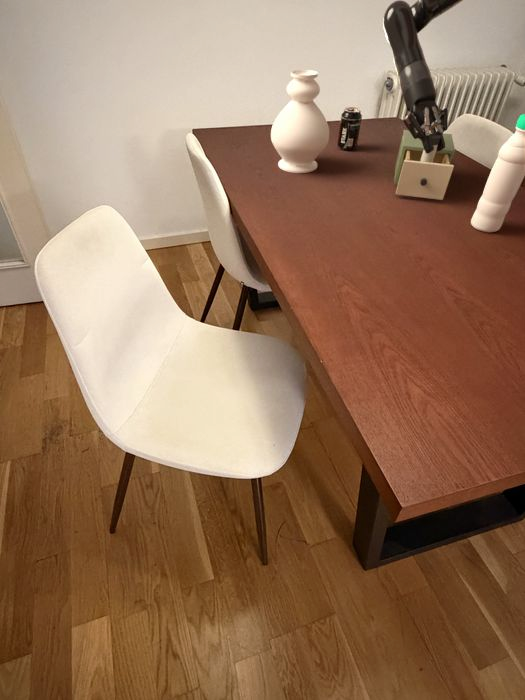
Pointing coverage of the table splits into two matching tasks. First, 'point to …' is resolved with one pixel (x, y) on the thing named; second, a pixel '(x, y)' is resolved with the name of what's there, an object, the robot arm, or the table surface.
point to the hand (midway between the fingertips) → (435, 150)
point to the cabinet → (417, 145)
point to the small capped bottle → (430, 156)
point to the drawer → (424, 176)
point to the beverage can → (349, 128)
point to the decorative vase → (300, 125)
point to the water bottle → (502, 182)
